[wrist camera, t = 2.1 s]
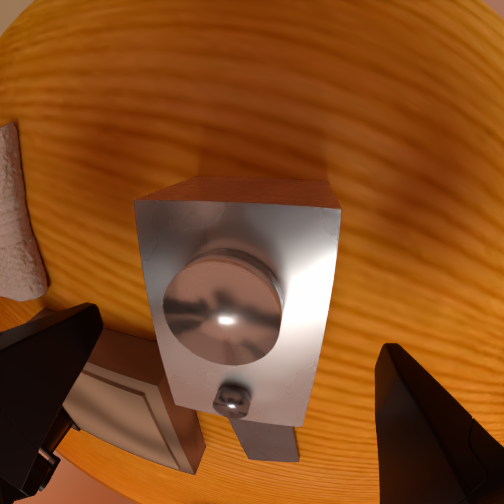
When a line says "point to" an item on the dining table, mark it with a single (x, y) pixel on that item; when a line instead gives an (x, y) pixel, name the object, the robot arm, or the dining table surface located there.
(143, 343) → the tray
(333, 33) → the dining table surface
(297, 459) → the cover plate
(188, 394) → the housing
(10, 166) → the washcloth
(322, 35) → the dining table surface
